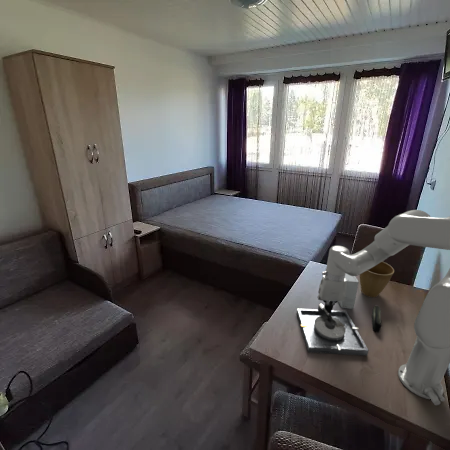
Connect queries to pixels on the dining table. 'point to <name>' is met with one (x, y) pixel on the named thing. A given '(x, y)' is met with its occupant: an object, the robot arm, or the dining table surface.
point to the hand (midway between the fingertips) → (327, 310)
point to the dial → (328, 325)
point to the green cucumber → (376, 319)
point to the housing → (318, 344)
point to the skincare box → (350, 292)
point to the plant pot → (375, 279)
